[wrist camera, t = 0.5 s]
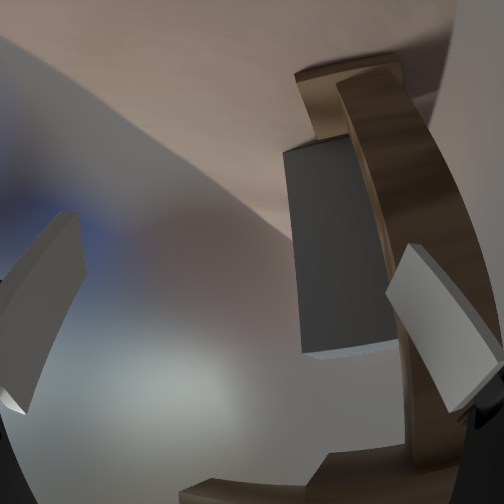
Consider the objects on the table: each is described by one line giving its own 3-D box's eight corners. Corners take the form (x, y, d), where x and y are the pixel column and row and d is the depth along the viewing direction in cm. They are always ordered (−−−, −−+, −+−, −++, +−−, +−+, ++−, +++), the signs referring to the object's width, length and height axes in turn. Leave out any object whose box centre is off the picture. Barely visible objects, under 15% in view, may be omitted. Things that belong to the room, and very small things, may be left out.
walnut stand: (271, 80, 22) (305, 520, 9) (394, 53, 18) (526, 472, 5) (295, 135, 28) (329, 478, 15) (400, 112, 24) (484, 448, 11)
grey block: (282, 153, 30) (301, 353, 21) (383, 129, 27) (444, 328, 18) (302, 194, 37) (320, 359, 28) (386, 176, 33) (426, 341, 24)
